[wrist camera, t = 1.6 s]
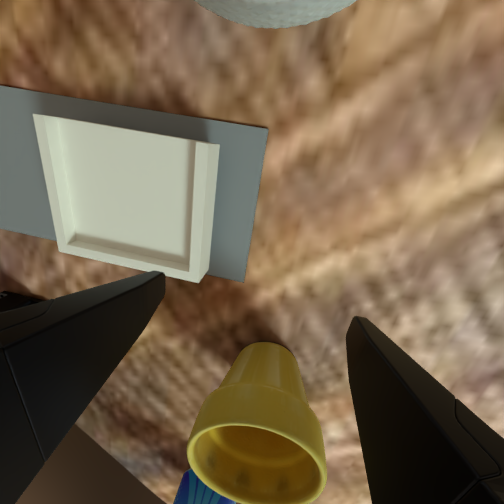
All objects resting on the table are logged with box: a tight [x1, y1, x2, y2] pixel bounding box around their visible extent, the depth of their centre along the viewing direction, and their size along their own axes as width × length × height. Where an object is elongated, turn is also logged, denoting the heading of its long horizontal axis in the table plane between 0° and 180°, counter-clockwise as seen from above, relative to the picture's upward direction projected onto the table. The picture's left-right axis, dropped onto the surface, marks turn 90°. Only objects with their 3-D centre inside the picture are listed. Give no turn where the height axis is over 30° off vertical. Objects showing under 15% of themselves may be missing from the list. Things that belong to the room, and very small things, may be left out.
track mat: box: [0, 86, 268, 283], centre depth 22 cm, size 13×29×1 cm, turn 81°
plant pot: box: [187, 342, 327, 504], centre depth 22 cm, size 10×10×10 cm
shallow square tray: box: [33, 114, 220, 283], centre depth 19 cm, size 10×12×4 cm
